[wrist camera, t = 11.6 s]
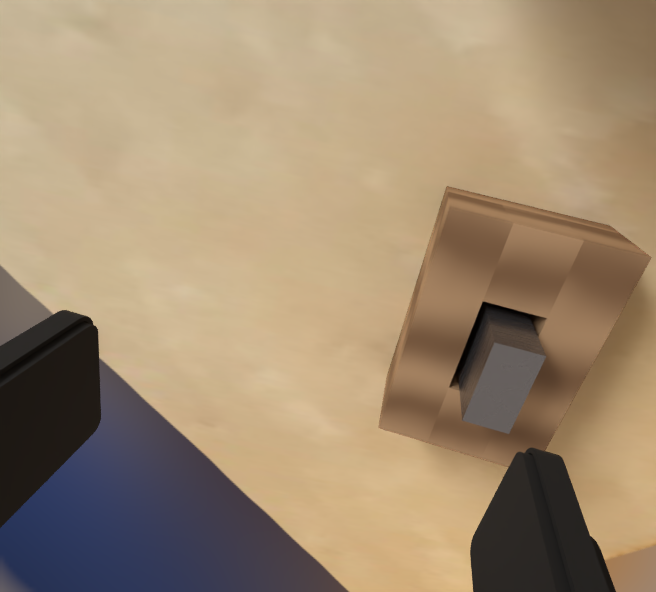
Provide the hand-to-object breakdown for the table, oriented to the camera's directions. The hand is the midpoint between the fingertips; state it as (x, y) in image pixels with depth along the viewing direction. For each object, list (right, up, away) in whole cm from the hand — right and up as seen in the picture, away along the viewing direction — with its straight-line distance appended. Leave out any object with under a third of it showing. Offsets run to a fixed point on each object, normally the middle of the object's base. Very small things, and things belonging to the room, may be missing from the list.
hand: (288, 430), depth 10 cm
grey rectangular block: (+13, +1, +26) cm, 29 cm away
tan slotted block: (+14, +2, +28) cm, 31 cm away
